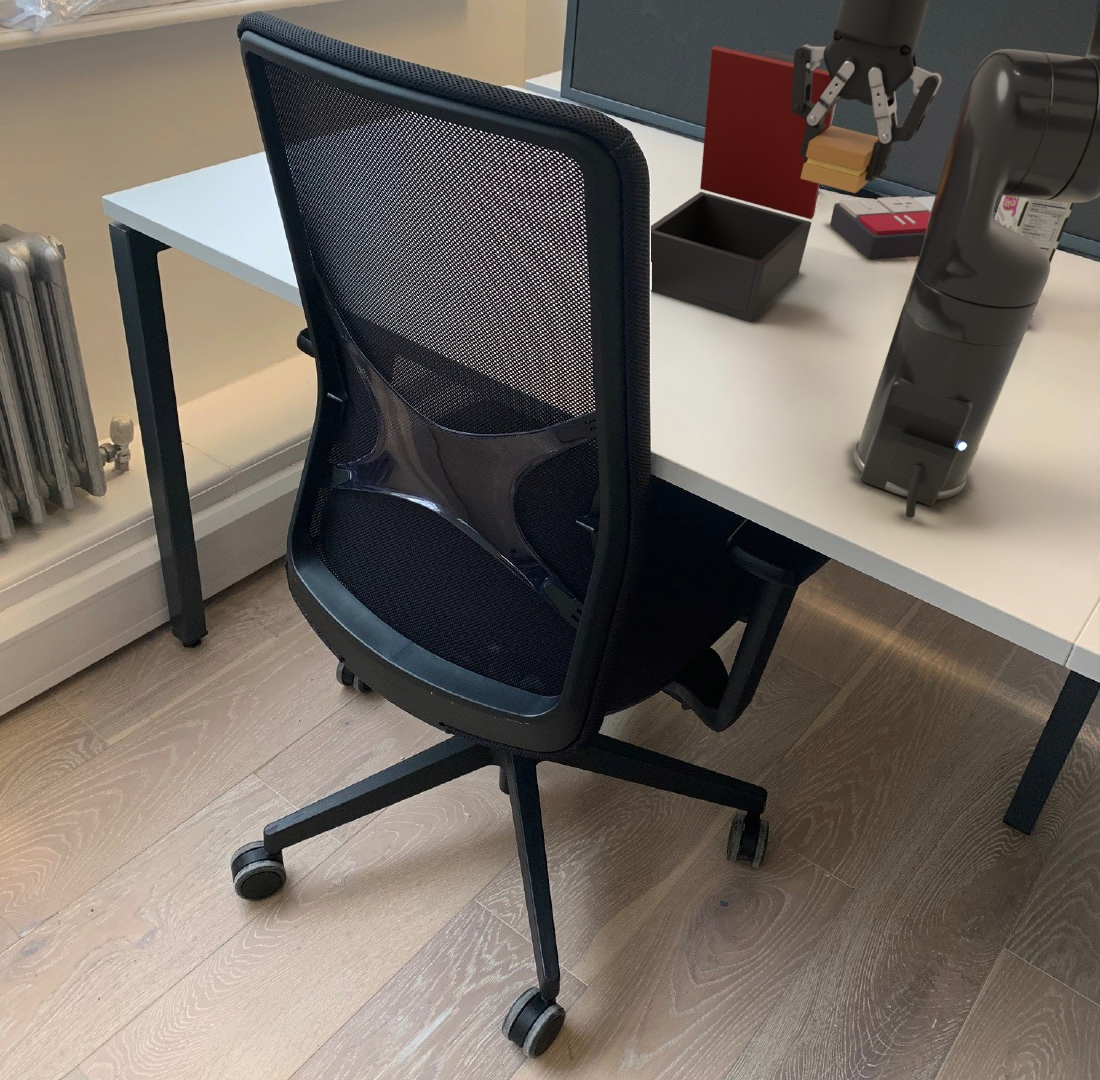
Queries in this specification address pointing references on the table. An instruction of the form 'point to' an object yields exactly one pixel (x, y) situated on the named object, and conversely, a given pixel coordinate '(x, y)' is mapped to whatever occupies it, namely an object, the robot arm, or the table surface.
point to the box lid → (757, 131)
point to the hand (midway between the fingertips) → (840, 170)
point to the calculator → (884, 225)
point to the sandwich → (839, 158)
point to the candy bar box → (1035, 220)
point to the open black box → (726, 254)
